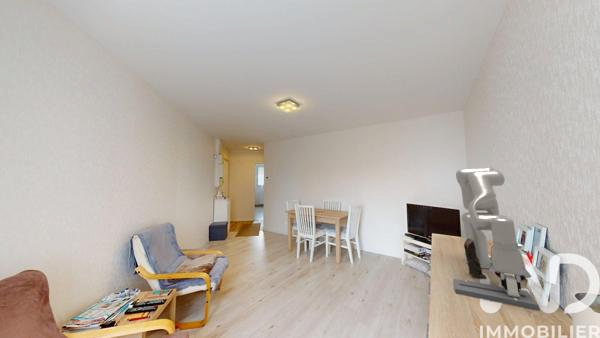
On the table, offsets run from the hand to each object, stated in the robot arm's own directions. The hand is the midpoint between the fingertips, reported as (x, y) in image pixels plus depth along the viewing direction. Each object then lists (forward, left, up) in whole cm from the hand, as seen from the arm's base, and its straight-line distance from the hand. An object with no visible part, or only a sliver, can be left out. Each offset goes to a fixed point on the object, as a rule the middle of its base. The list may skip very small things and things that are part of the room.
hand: (511, 289), depth 86 cm
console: (+5, -5, -4) cm, 8 cm away
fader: (0, 0, -2) cm, 2 cm away
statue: (-7, -21, -4) cm, 22 cm away
